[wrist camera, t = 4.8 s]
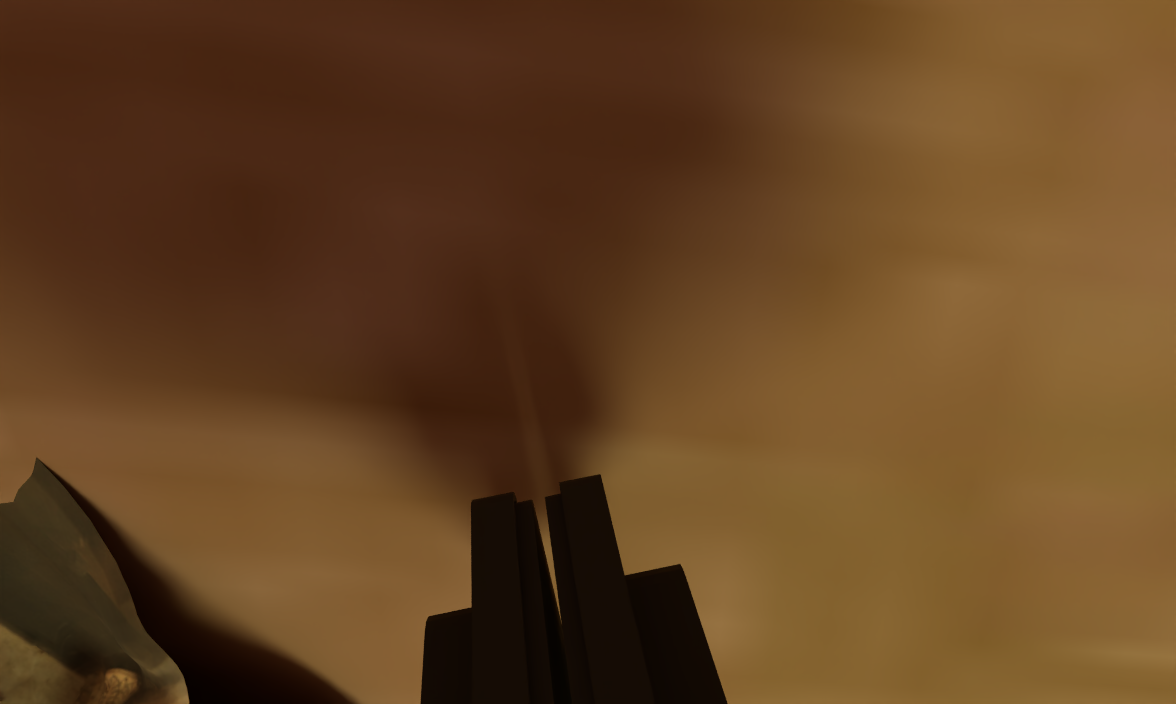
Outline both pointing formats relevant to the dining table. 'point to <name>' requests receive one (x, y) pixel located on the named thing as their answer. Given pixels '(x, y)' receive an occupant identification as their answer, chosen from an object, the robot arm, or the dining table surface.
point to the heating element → (70, 611)
